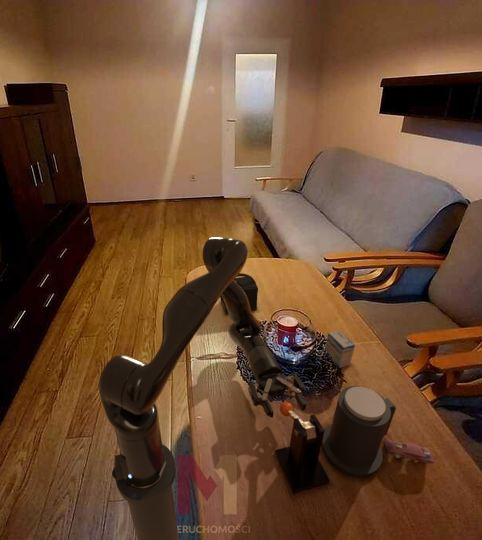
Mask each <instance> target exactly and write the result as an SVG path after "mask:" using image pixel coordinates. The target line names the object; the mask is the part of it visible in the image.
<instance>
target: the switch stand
mask: <svg viewBox="0 0 482 540" xmlns="http://www.w3.org/2000/svg"><path fill="white" fill-rule="evenodd" d="M308 421H309V422H310V423H312V424H313V425H314V426H315V430H316V438H312V439H308V440H307V436H308V435H307V433H306V432H305V430H304V428H303V426H302V424H301V422H300V421H299V419H298V418H296V419H294V420H293V423H292V429H291V436H290V441H289V446H287V447H282V448H278V449H275V451H274V454H275V457H276V458H277V461H278V463H279V465H280V467H281V470H282V472H283V475H284V477H285V479H286V481H287V484H288V486H289V488H290V491H291V493H292V495H295V494H298V493H301V492H305V491H309V490H312V489H315V488H318V487H322V486H326V485H329V484H330V482H331V481H330V479H329V476H328V475H327V473H326V470H325V469H324V467H323V466H322V464H321V462H320V459H319V458H320V453H321V450H322V441H323V436H324V432H325V431H324V430H325V429H324V427H323V425H322V424H321V422H320V421H319V419H318V418H317V415H315V413H314V414H310V416H309V420H308Z"/></svg>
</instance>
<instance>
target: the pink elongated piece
mask: <svg viewBox="0 0 482 540" xmlns="http://www.w3.org/2000/svg"><path fill="white" fill-rule="evenodd" d="M384 446H385V449H386V450H387V451H388V452H389V453H388V454H390V455H393V456H394V458H396V459H407V456H409V460H410V461H412V462H413V463H426V464H434V463H435V458H434V457H435V456H434V453H433V451H431V450H430V449H429V448H428V447H427V446H419V445H418V444H415V443H413V442H400V441H393V440H391V438H389V437H387V438H386V439H385V441H384Z"/></svg>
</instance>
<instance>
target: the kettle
mask: <svg viewBox="0 0 482 540" xmlns="http://www.w3.org/2000/svg"><path fill="white" fill-rule="evenodd" d="M396 410H397V407H396V405H395V404H394V403H393V402H392V401H391V399H390V398H389V397H387V398H384V397H383V396H382V395H381V394H380V393H378V392H377V391H376V390H373V389H371V388H369V387H366V386H361V385H351V386H347V387H344V388H343V389H342V390H341V391H340V392H339V394H338V398H337V401H336V405H335V410H334V413H333V418H332V423H330V424H329V425H328V426H326V428H325V429H324V431H325V432H324V436H323V441H322V445H321V450H322V453H323V455H324V457H325V458H326V460H327V461H328V462H329V464H330V465H331V466H332V467H333V468H334V469H335V470H337V471H338V472H340V473H341V474H343V475H346V476H348V477H350V478H353V479H354V478H355V479H367V478H371V477H373V476H374V475H376V474H377V473H378V472H379V471H380V468H381V466H382V463H383V459H384V454H383V449H382V446H381V445H382V442H383V440H384V438H385V436H387V434H388V432H389V429H390V426H391V423H392V421H393V419H394V415H395V412H396Z"/></svg>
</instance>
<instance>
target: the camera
mask: <svg viewBox="0 0 482 540" xmlns="http://www.w3.org/2000/svg"><path fill="white" fill-rule="evenodd" d="M234 281H235V282H236V283H237V284H238V285H239V286H240V287H241V288H242V289H243V291H244V292H245V294H246V296H247V298H248V301H249V305H250V309H251V311H252V312H256V311H258V296H259V295H258V293H259V286H258V285H257V282H256V279H254V278H253V276H252V275H249V274H247V273H243V272H240V273H239V274H238V275H237V276H236V278H235V279H234ZM219 299H220V304H221V307H222V308H223V311H224V314H225V315H229V314H228V311H227V308H226V304H225V302H224V299H223V297H222V295H221V296H220V298H219Z"/></svg>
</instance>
